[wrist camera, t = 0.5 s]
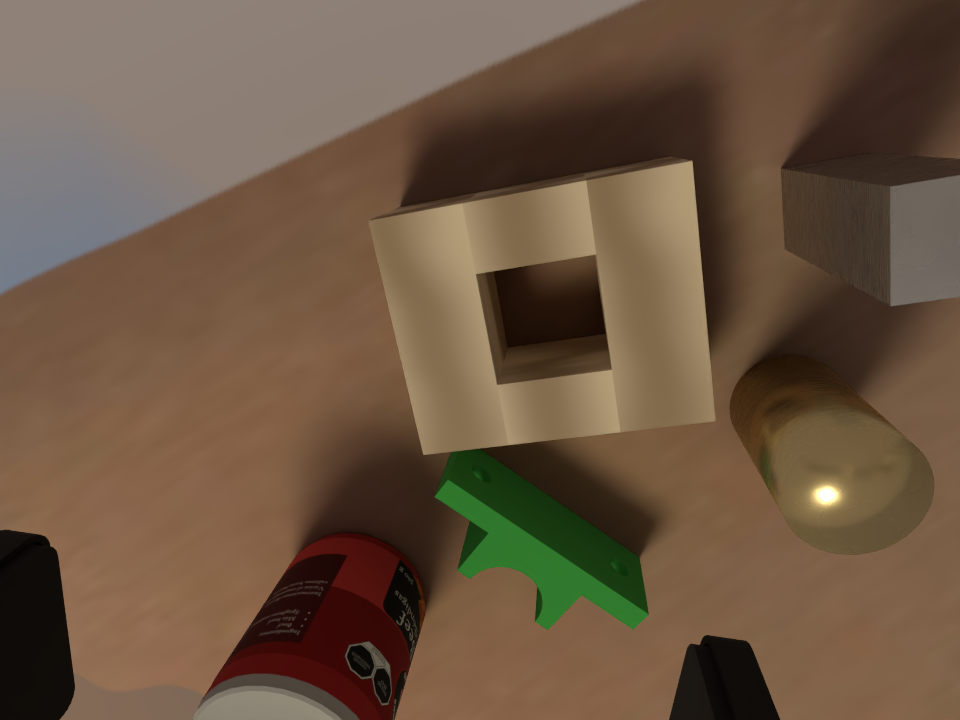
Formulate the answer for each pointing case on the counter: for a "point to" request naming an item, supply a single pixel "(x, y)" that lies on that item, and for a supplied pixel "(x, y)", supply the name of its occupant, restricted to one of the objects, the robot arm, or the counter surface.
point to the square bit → (878, 223)
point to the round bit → (829, 457)
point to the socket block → (564, 363)
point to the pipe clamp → (539, 541)
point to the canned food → (326, 638)
